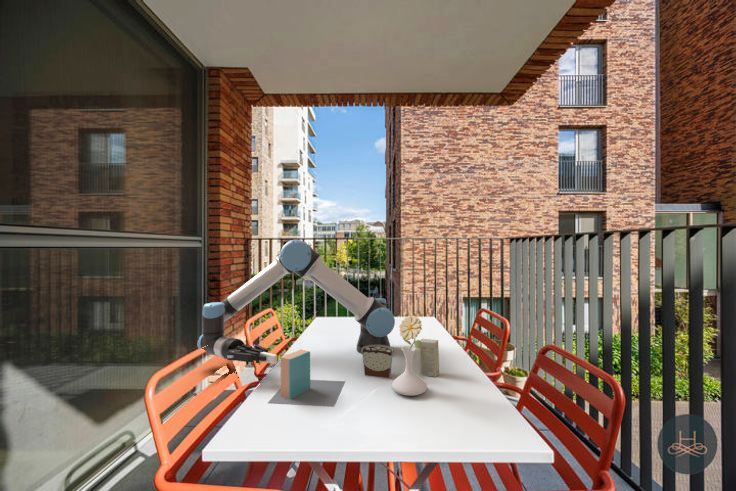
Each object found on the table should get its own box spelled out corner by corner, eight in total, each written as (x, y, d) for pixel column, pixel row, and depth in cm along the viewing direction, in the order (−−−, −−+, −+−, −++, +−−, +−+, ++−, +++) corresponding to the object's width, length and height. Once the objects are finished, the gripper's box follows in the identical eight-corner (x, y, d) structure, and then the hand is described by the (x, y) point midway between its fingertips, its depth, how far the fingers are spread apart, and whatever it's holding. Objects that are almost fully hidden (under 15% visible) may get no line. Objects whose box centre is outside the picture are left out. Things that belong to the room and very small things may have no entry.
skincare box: (439, 373, 123) (439, 339, 123) (436, 377, 119) (436, 343, 119) (422, 370, 125) (422, 338, 125) (419, 374, 121) (418, 341, 121)
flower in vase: (385, 387, 111) (384, 311, 111) (415, 381, 115) (414, 309, 115) (404, 404, 99) (404, 319, 99) (437, 397, 103) (436, 316, 103)
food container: (398, 373, 123) (397, 345, 123) (393, 379, 117) (393, 351, 117) (366, 369, 127) (366, 342, 127) (360, 375, 121) (360, 347, 121)
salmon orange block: (280, 396, 103) (280, 357, 103) (301, 385, 111) (300, 349, 111) (290, 399, 101) (290, 359, 101) (310, 388, 109) (310, 351, 109)
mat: (345, 383, 114) (345, 381, 114) (333, 408, 96) (333, 406, 96) (288, 380, 117) (288, 378, 117) (267, 405, 99) (267, 403, 99)
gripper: (244, 353, 128) (289, 364, 116) (213, 363, 117) (259, 377, 105) (244, 334, 128) (289, 343, 116) (213, 342, 117) (259, 353, 105)
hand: (275, 359), depth 111 cm, fingers closed
